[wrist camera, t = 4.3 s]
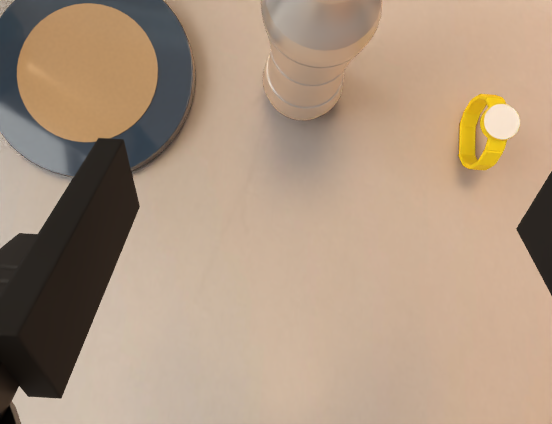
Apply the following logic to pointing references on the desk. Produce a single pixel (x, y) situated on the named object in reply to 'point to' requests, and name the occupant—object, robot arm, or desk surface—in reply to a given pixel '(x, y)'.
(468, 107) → the watch
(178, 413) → the desk surface
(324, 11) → the silver metal bottle
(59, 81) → the plate
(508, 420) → the desk surface
